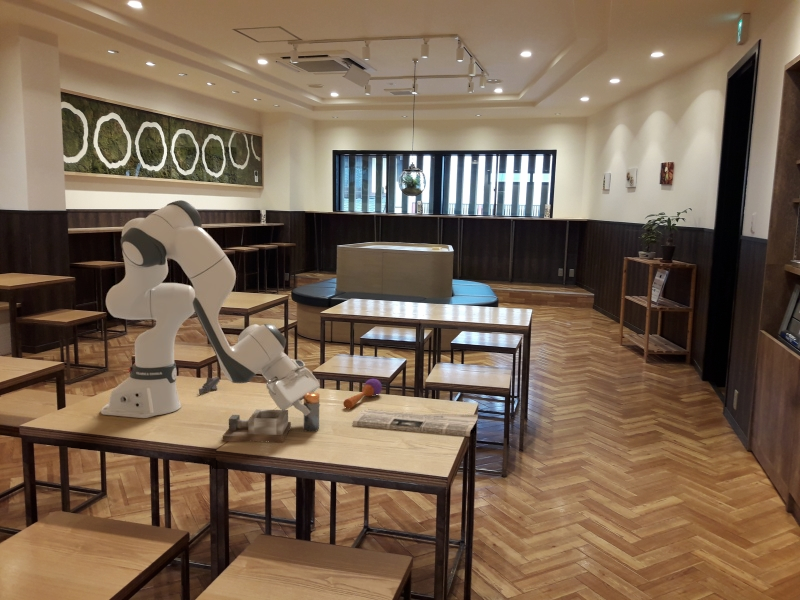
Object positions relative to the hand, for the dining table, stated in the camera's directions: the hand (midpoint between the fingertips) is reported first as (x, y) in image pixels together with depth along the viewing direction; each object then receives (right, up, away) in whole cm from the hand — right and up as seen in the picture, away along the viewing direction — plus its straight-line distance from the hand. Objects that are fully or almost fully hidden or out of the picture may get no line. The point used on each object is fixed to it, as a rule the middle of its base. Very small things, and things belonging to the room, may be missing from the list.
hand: (313, 410), depth 170 cm
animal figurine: (-41, 0, +37) cm, 55 cm away
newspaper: (+29, -6, +7) cm, 31 cm away
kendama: (+12, -2, +29) cm, 31 cm away
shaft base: (-15, -6, -4) cm, 16 cm away
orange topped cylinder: (-1, -5, +1) cm, 5 cm away
